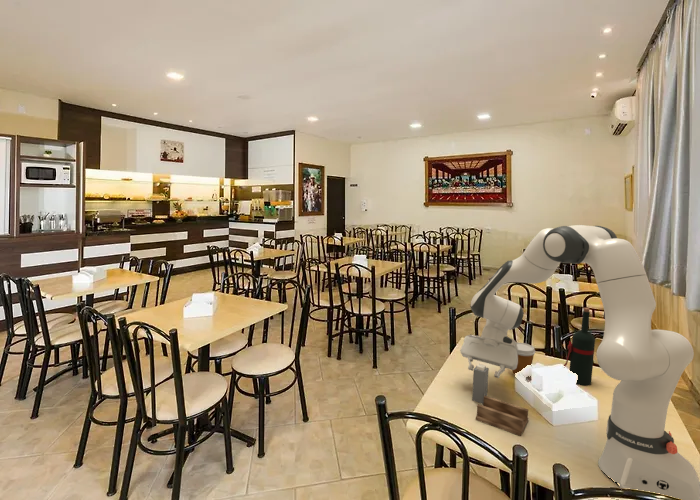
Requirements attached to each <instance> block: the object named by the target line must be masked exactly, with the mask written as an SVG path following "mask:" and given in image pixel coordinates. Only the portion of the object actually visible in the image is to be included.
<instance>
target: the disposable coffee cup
mask: <svg viewBox="0 0 700 500" xmlns="http://www.w3.org/2000/svg"><path fill="white" fill-rule="evenodd" d="M516 343H517V346H518V350H517V354H518V364H517V368H516V369H515V370H511V371H512V374H513V375H514V374H515V373H517V372H519V371H521V370H522V369H523V368H525V367H526V366H527V365H531V364H533V361H534V355H535V354H536V350H535V347H534V346H533V345H530V344H528V343H525V342H516ZM531 366H532V365H531Z"/></svg>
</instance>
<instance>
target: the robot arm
mask: <svg viewBox="0 0 700 500" xmlns="http://www.w3.org/2000/svg"><path fill="white" fill-rule="evenodd" d="M561 263H562V264H576V265H577V264H578V265H579V264H587V265H588V266H590V268H591V269H592V271H593V274H594V279H595V281H596V285H597V289H598V292H599V295H600V299H601V303H602V307H603V310H604V331H603V338H602V340H601V343H600V344H599V346H598V347H597V350H596V361H597V364H598V365H599V368H600V369H601V371H603V373H605V374H606V375H607V376H608V377H609V378H611V379H614V380H617V381H619V382H618V384H616V385H615V388H614V389H613V393H612V401H611V409H610V414H609V416H608V419H607V423H606V433H605V434H606V442H605V445H604V448H603V451H602V453H601V455H600V457H599V458H598V461H597V465H598V468H599V469H600V471H601V470H602V471H603V472H604V473H605V474H606V475H607V476H609V477H610V478H612V479H613V480H614V481H615V482H617V483H619V484H620V486H618V487H619V489H621V488H630V489H638V490H644V491H650V492H655V493H660V494H664V495H668V496H672V497H675V498H679V499H682V500H700V480H699V476H698V474H697V470H696V469H695V468H694V466H693V464H692V463H691V462H690V461H689V460H688V459H687V458H685V457H684V456H683V455H682V454H681V453H680V452H679V451H678V446H677V445H676V444H675V439H674V437H673V436H672V433H671V431H666V429H665V428H666V422H667V421H666V420H667V415H668V409H669V406H670V402H671V399H672V396H673V395H674V392H675V390H676V387H677V386H678V383H679V381H680V378H681V376H682V375H683V373H684V371H685V369H686V368H687V367H688V366H689V365H690V363H692V362H693V359H694V356H695V353H694V352H695V351H694V348H693V345H692V344H691V342H690V340H688V338H686V337H685V336H683V334H681V333H678V332H676V331H673V330H666V329H652V316H653V313H654V311H655V310H656V308H657V307H656V306H657V302H656V299H655V295H654V293H653V289H652V287H651V284H650V281H649V278H648V274H647V272H646V269H645V267H644V265H643V264H644V263H642V260H641V257H640V256H639V254H638V253H637V251H636V249H635V247H634V246H633V244H632V243H631V242H630V241H629V240H626V239H623V238H618V237H617V235H616V233H615V232H614V231H613V230H611V229H610V228H608V227H604V226H601V225H584V224H576V225H575V224H573V225H568V226H567V225H561V226H558V227H555V228H552V227H547V228H543V229H541V230H540V231H539V232H538V233H537V234H536V235H535V236H534V237H533V238H532V240H531V241H530V242H529V243H528V245H527V246H526V248H525V249H524V252H523V253H522V254H521V255H520V256H518V257H517V258H514V259H512V260H507V261H505V262H504V263H503V264H502V265H501V266H500V267H499V268H498V269H497V271H495V272H494V274H493V275H492V276H491V277H490V278H489V279H488V281H487V282H486V283H485V284H484V286H482V287H481V289H479V290H478V291H477V292H476V293H475V294H474V295H473V297H472V298H471V301H470V309H471V312H472V313H473V315H474V316H475V317H479V318H482V319H485V325H484V327H483V329H482V331H481V335H480V336H479V335H475V334H474V335H473V334H467V335H466V336H464V339H463V344H462V345H461V347H460V350H459V351H460V352H459V353H460V354H461V355H462V357H463V358H466V359H467V360H468V365H467V367H468V368H467V369H468V370H469V371H473V372H474V368H475V366H474V364H472V362H473V361H478V362H482V363H484V364H489V365H493V366H497V367H499V370H494V375H493V376H494V378H497V379H500V376H501V374H503V372H505V371H506V369H508V370H511V371H512V370H515V369H516V368H517V364H518V354H517V350H518V346H517V343H518V342H516V340H515V339H513V338H512V337H509V336H508V331H511V330H514V329H517V328H519V327H520V326H521V324H522V322H523V317H524V314H525V313H524V309H523V307H522V306H521V305H520V304H519V303H516V302H514V301H512V300H511V299H510V300H509V299H505V298H504V297H502V296H499V295H496V293H497V292H498V291H499V289H501V288H502V286H503V285H505V284H508V283H525V284H533V285H534V284H539V283H543V282H546V281H548V279H550V278H551V277H552V275H554V273H555V272H556V271H557V269H558V267H559V266H560V265H561ZM602 471H601V472H602ZM603 472H602V473H603ZM604 473H603V474H604ZM605 474H604V475H605ZM606 475H605V476H606ZM607 476H606V477H607ZM615 482H614V483H615Z"/></svg>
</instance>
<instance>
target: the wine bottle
mask: <svg viewBox="0 0 700 500" xmlns="http://www.w3.org/2000/svg"><path fill="white" fill-rule="evenodd" d="M589 322H590V307H583V311H582V318H581V328H580V329H581V330H578V331H576V332H575V333H574V334H573V336H572V340H571V341H570V340H569V341H568V345H567V351H568V353H567V357H566V360H565V363H564V364H563V366H565V367H566V366H567V364H568V362H569V370H570V371H572V372H573V373H576V374H577V375H578V380H577V384H576V385H578V386H584V387H585V386H586V387H588V386H589V387H590V386H591V385H592V379H593V378H592V376H593V366H594V357H595V356H594V355H595V347H596V346H595V345H596V339H595V336H594V335H593V334H591V333H590V332H589ZM569 358H570V361H569ZM569 370H568V371H569Z"/></svg>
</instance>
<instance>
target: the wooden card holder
mask: <svg viewBox="0 0 700 500" xmlns="http://www.w3.org/2000/svg"><path fill="white" fill-rule="evenodd" d="M474 420H475V421H478V422H481V423H484V424H487V425H489V426H492V427H494V428H497V429H500V430H502V431H506V432H509V433H511V434H513V435H517V436H519V437H522V434H523V433H524V431H525V428H526V426H527V424H528V423H529V409H527V408H524V407H522V406H519V405H516V404H512V403H509V402H506V401H503V400H500V399H496V398H493V397H490V396H488V395H487V396H484V403H483V404H481V403H478V404H477V405H476V416H475V419H474Z"/></svg>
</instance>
